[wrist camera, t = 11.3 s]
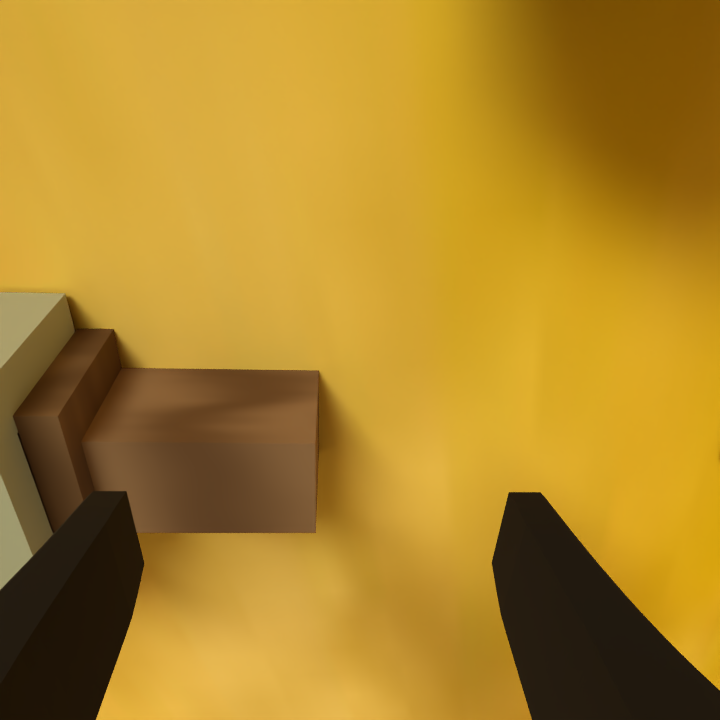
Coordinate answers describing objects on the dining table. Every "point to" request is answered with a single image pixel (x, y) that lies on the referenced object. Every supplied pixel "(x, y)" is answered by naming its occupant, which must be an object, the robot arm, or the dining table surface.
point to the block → (3, 397)
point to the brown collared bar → (174, 441)
